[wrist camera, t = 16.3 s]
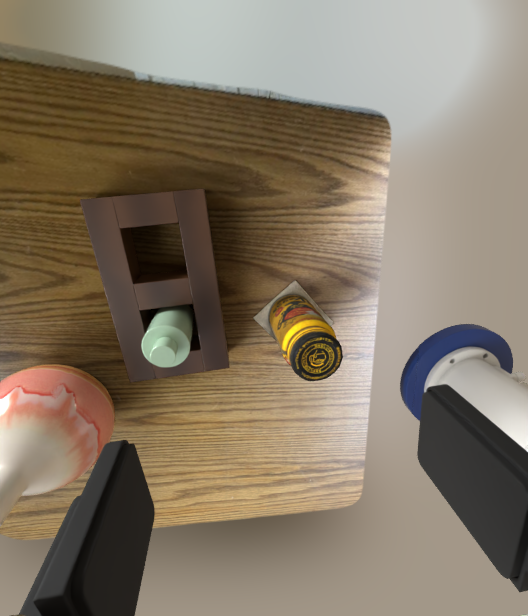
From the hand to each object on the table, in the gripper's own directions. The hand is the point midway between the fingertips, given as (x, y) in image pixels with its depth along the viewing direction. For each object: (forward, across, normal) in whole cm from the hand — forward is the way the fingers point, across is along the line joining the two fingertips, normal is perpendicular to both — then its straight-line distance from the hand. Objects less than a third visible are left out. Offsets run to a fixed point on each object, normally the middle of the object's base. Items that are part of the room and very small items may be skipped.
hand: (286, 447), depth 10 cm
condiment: (+31, -6, +9) cm, 33 cm away
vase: (+31, +24, +14) cm, 41 cm away
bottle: (+30, +9, +6) cm, 32 cm away
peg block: (+30, +9, +2) cm, 32 cm away
